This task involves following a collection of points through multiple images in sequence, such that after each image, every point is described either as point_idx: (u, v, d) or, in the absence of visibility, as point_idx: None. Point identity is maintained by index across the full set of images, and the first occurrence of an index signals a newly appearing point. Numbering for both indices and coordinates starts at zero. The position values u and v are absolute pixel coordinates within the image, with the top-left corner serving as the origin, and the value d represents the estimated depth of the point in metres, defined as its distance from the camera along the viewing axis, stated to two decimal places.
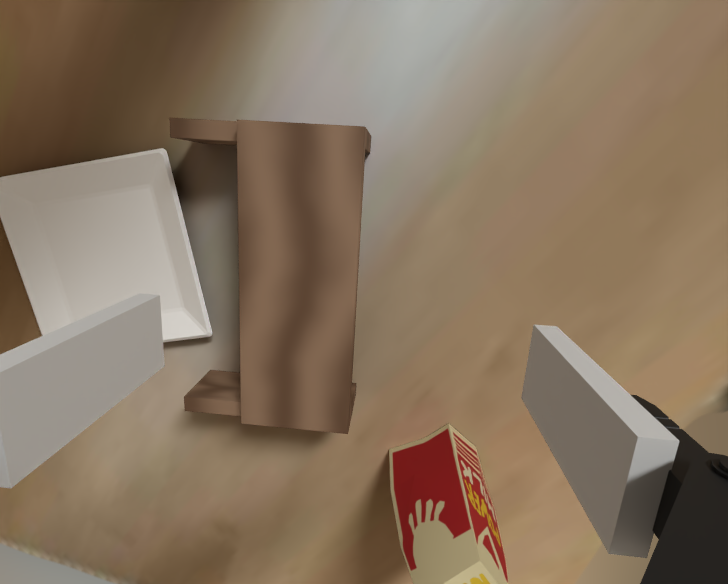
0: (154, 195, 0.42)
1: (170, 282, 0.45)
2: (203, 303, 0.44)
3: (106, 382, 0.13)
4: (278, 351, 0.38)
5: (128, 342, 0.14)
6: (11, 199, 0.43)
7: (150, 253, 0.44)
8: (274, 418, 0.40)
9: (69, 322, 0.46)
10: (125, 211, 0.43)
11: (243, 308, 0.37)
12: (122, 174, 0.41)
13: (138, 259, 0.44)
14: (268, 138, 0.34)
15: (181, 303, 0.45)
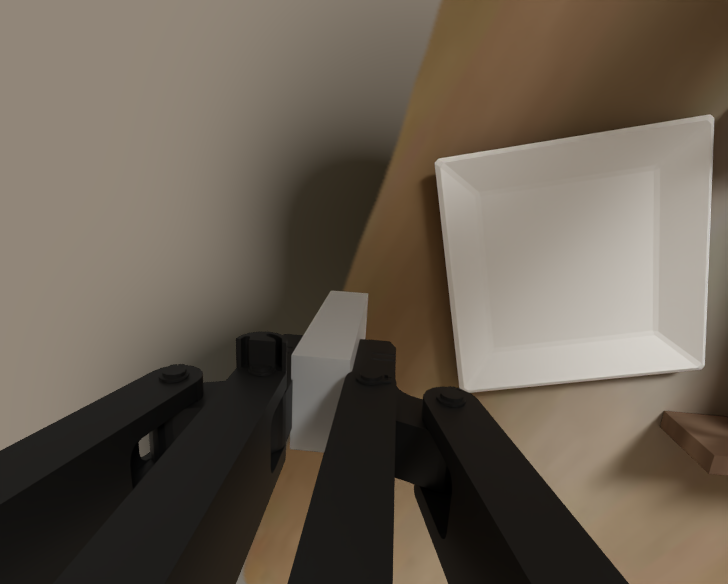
0: (658, 180, 0.31)
1: (646, 298, 0.34)
2: (705, 326, 0.32)
3: None
4: None
5: None
6: (457, 187, 0.32)
7: (628, 259, 0.33)
8: None
9: (488, 349, 0.35)
10: (608, 203, 0.32)
11: None
12: (630, 151, 0.30)
13: (607, 267, 0.33)
14: None
15: (653, 325, 0.34)
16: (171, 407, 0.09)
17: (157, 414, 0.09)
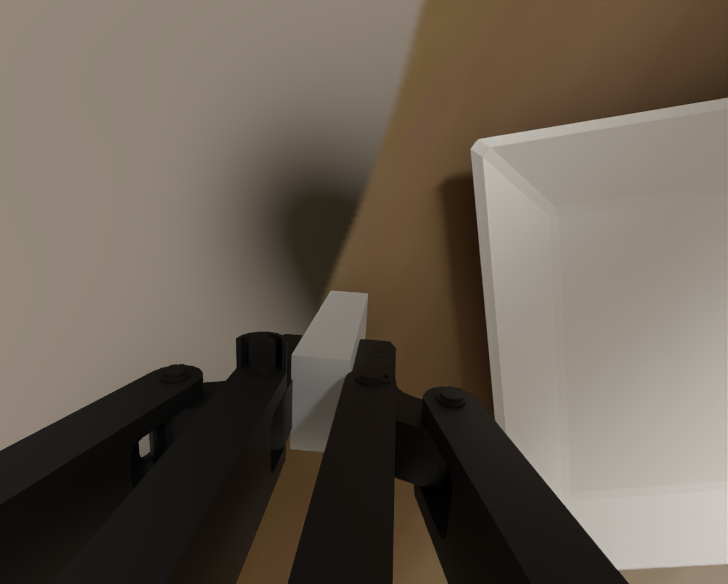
0: None
1: None
2: None
3: None
4: None
5: None
6: (515, 198, 0.16)
7: None
8: None
9: (560, 495, 0.19)
10: None
11: None
12: None
13: None
14: None
15: None
16: (171, 407, 0.09)
17: (157, 414, 0.09)
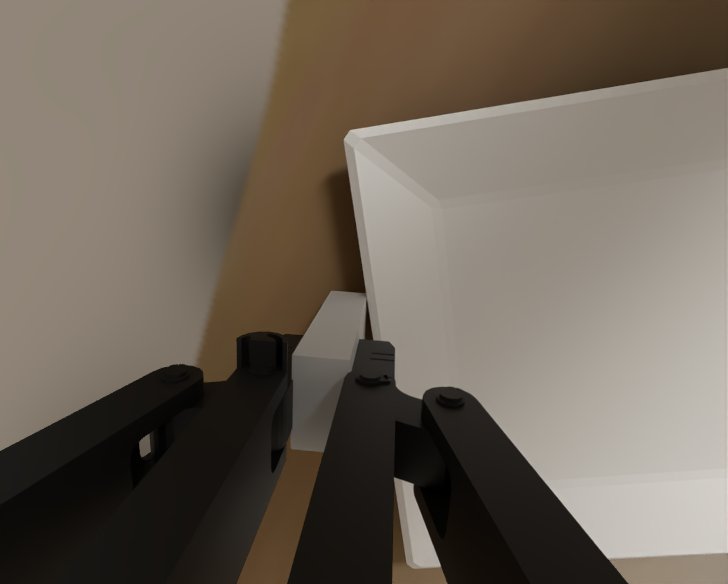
0: None
1: None
2: None
3: None
4: None
5: None
6: (393, 190, 0.16)
7: None
8: None
9: None
10: (697, 225, 0.16)
11: None
12: None
13: (690, 349, 0.17)
14: None
15: None
16: (172, 407, 0.09)
17: (158, 414, 0.09)
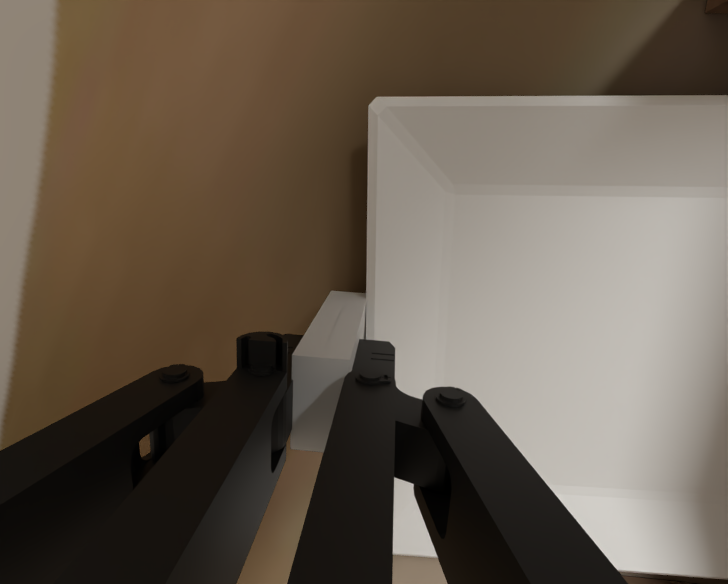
0: None
1: None
2: None
3: None
4: None
5: None
6: (410, 166, 0.15)
7: (717, 362, 0.17)
8: None
9: None
10: (702, 249, 0.16)
11: None
12: None
13: (675, 371, 0.17)
14: None
15: None
16: (172, 407, 0.09)
17: (158, 414, 0.09)
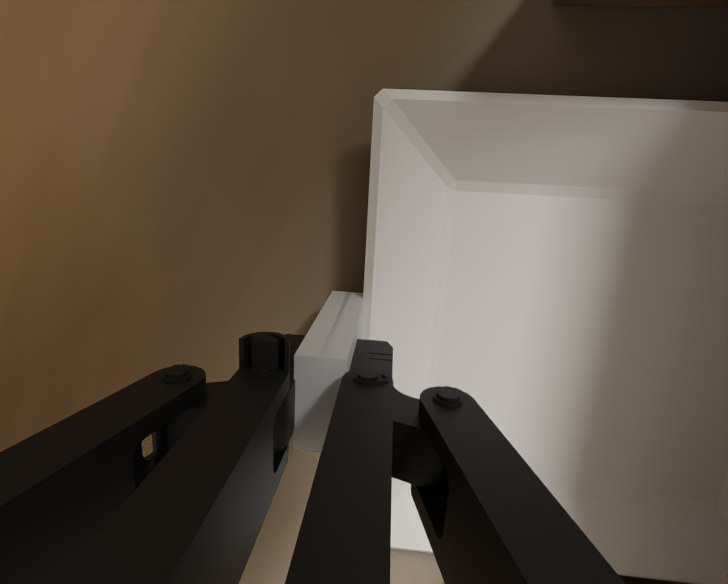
0: None
1: (722, 446, 0.18)
2: None
3: None
4: None
5: None
6: (413, 159, 0.15)
7: (710, 370, 0.17)
8: None
9: None
10: (701, 256, 0.16)
11: None
12: None
13: (667, 376, 0.17)
14: None
15: (721, 494, 0.18)
16: (174, 407, 0.09)
17: (160, 414, 0.09)
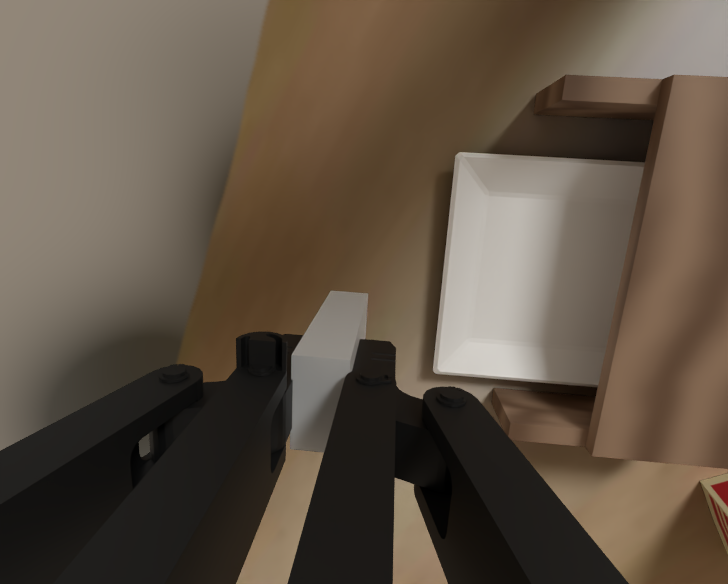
0: None
1: None
2: None
3: None
4: (662, 367, 0.31)
5: None
6: (471, 182, 0.34)
7: (606, 280, 0.36)
8: (637, 450, 0.32)
9: (465, 337, 0.38)
10: (599, 226, 0.35)
11: (627, 315, 0.30)
12: (628, 183, 0.34)
13: (587, 284, 0.36)
14: (712, 99, 0.26)
15: None
16: (171, 407, 0.09)
17: (157, 414, 0.09)
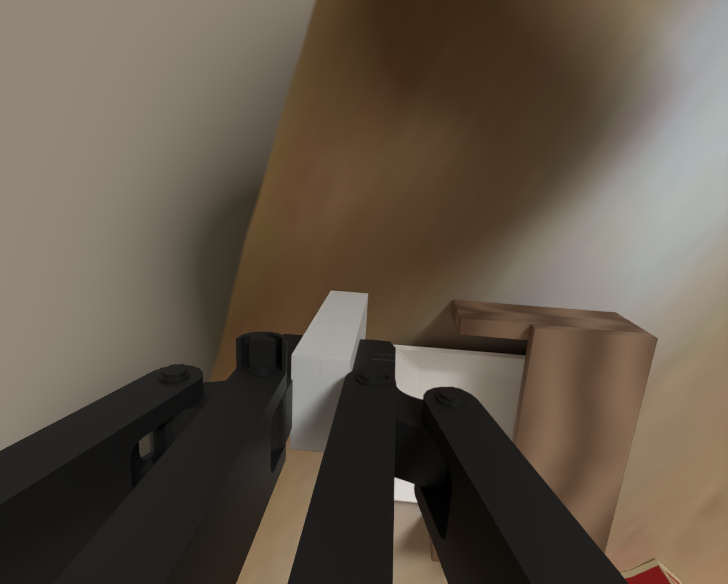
0: None
1: None
2: None
3: None
4: None
5: None
6: (404, 364, 0.45)
7: (512, 433, 0.47)
8: None
9: None
10: (504, 394, 0.46)
11: None
12: None
13: None
14: (562, 344, 0.37)
15: None
16: (171, 407, 0.09)
17: (157, 414, 0.09)
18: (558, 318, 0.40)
